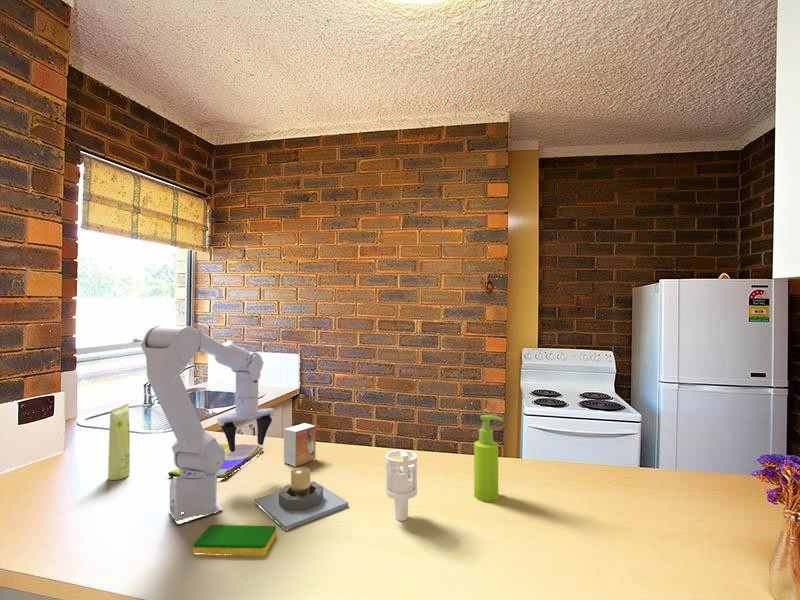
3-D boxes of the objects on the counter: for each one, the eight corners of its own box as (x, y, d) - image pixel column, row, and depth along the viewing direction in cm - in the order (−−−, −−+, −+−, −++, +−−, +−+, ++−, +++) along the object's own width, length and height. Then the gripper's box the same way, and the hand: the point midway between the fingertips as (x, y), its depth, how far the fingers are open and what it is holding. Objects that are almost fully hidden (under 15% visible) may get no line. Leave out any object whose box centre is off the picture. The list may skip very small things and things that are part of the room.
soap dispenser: (503, 503, 98) (503, 420, 99) (474, 500, 100) (473, 418, 100) (502, 492, 104) (501, 413, 104) (474, 490, 105) (474, 412, 106)
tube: (132, 477, 112) (132, 406, 113) (109, 483, 109) (110, 409, 109) (127, 471, 117) (128, 403, 117) (106, 476, 113) (106, 405, 113)
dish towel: (164, 480, 112) (164, 470, 112) (216, 449, 136) (216, 441, 136) (223, 484, 109) (223, 474, 110) (265, 452, 134) (266, 444, 134)
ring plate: (285, 531, 86) (285, 514, 86) (254, 503, 98) (254, 488, 98) (348, 506, 97) (348, 491, 97) (313, 484, 108) (313, 471, 109)
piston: (296, 506, 94) (296, 476, 94) (287, 500, 98) (287, 470, 98) (313, 500, 97) (313, 471, 97) (304, 494, 101) (304, 465, 101)
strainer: (389, 527, 87) (389, 457, 88) (382, 511, 94) (382, 446, 94) (421, 523, 89) (421, 454, 89) (411, 507, 96) (411, 443, 96)
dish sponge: (210, 536, 85) (210, 524, 85) (276, 537, 84) (276, 525, 85) (192, 557, 78) (192, 544, 78) (264, 558, 77) (264, 545, 77)
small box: (295, 467, 120) (295, 431, 120) (283, 463, 123) (283, 428, 123) (316, 459, 126) (316, 425, 126) (304, 455, 129) (304, 422, 130)
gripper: (224, 403, 102) (223, 458, 102) (279, 395, 112) (278, 445, 111) (215, 398, 107) (214, 450, 107) (267, 391, 117) (267, 438, 117)
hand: (246, 447), depth 110 cm, fingers open, 7 cm apart
